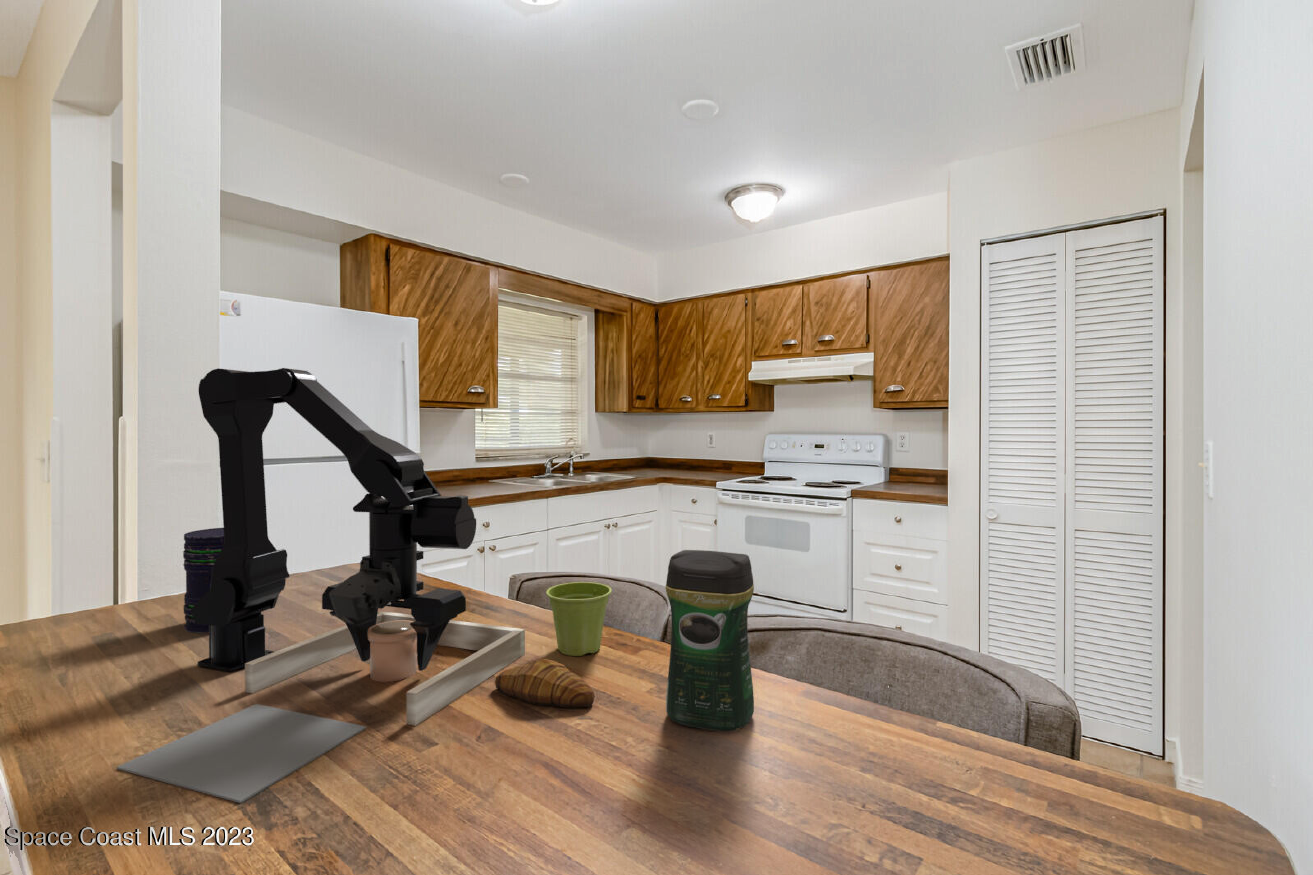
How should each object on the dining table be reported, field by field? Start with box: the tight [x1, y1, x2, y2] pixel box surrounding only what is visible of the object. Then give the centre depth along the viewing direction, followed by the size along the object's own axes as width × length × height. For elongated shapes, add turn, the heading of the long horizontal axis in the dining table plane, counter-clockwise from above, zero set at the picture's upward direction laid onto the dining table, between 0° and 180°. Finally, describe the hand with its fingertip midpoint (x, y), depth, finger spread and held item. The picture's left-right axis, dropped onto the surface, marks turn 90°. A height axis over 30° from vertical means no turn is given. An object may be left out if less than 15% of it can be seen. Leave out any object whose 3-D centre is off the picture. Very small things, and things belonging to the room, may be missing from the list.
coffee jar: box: [665, 549, 755, 733], centre depth 69 cm, size 10×8×19 cm
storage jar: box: [182, 527, 224, 634], centre depth 101 cm, size 10×10×15 cm
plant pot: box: [545, 581, 613, 657], centre depth 90 cm, size 9×9×9 cm
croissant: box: [494, 658, 595, 709], centre depth 74 cm, size 14×7×5 cm, turn 67°
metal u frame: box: [244, 611, 526, 727], centre depth 82 cm, size 25×22×4 cm
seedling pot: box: [368, 620, 418, 683], centre depth 81 cm, size 6×6×6 cm
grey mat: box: [116, 703, 367, 804], centre depth 62 cm, size 16×14×1 cm
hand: (393, 665), depth 81 cm, fingers open, 9 cm apart
